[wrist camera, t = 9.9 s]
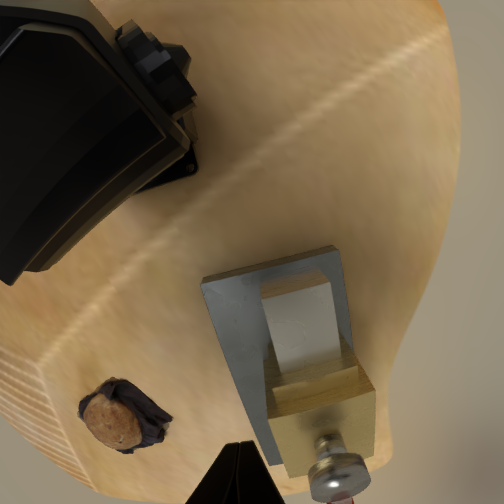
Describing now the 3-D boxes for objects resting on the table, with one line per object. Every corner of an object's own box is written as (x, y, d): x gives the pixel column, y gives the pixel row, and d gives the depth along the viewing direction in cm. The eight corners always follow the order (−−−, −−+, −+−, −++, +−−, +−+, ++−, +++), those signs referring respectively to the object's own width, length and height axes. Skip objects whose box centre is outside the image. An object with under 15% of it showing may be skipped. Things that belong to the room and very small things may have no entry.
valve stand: (268, 455, 24) (273, 529, 14) (203, 277, 19) (168, 348, 10) (354, 434, 23) (380, 503, 14) (332, 245, 19) (396, 292, 10)
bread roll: (132, 451, 25) (123, 473, 21) (73, 406, 23) (59, 427, 20) (186, 419, 23) (180, 447, 19) (115, 363, 22) (98, 388, 18)
